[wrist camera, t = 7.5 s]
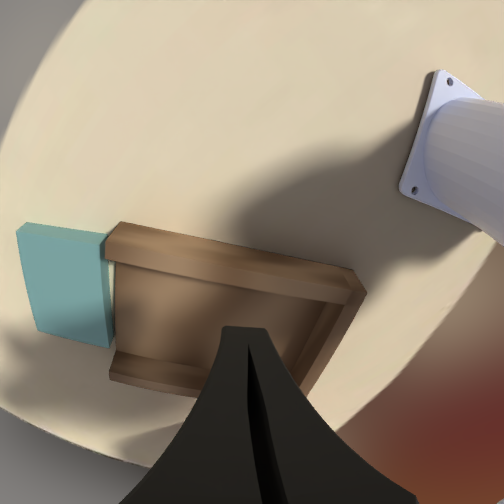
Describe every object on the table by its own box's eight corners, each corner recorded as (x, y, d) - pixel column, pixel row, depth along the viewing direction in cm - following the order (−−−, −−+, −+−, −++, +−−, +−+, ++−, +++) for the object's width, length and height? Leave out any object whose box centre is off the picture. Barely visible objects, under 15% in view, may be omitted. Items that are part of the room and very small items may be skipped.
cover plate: (110, 230, 17) (99, 244, 15) (115, 331, 21) (109, 348, 19) (30, 219, 16) (15, 231, 14) (47, 315, 20) (37, 330, 18)
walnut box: (352, 269, 19) (367, 292, 16) (294, 383, 23) (299, 407, 21) (120, 221, 16) (105, 241, 14) (117, 355, 21) (109, 379, 19)
